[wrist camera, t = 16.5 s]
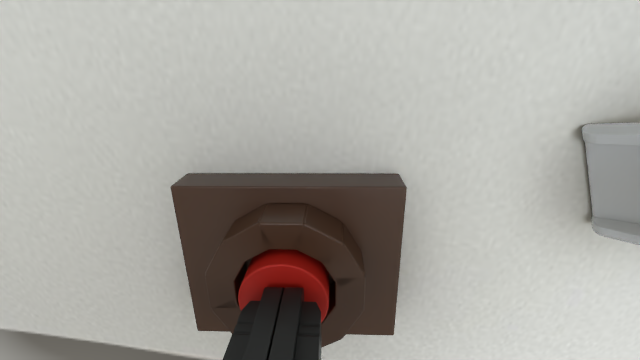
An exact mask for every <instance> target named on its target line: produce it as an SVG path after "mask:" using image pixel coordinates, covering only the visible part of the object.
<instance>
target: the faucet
mask: <svg viewBox="0 0 640 360" xmlns="http://www.w3.org/2000/svg"><path fill="white" fill-rule="evenodd" d="M582 135H583V140H584V141H585V146H586V156H587V165H588V175H589V184H590V194H591V203H592V213H593V217H592V228H593V230H594V231H595V232H596V233H597V234H599V235H601V236H604V237H608V238H612V239H616V240H620V241H625V242H629V243H633V244H637V245H640V122H636V123H606V124H586V125H584V126H583V127H582Z"/></svg>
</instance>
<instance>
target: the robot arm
mask: <svg viewBox="0 0 640 360" xmlns="http://www.w3.org/2000/svg"><path fill="white" fill-rule="evenodd" d="M223 360H321V311H320V309H319V307H318V305H317V303H316V302H304V288H303V287H285V288H284V287H265V288H264V291H263V294H262V297H261V300H260V301H250V302H249V303H248V304H247V305H246V306H245V307H244V308H243V309H242V310H241V313H240V315H239V318H238V321H237V324H236V326H235V329H234V331H233V334H232V337H231V339H230V342H229V344H228V347H227V350H226V352H225V355H224V358H223Z"/></svg>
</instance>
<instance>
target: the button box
mask: <svg viewBox="0 0 640 360" xmlns="http://www.w3.org/2000/svg"><path fill="white" fill-rule="evenodd" d="M171 191H172V197H173V202H174V207H175V213H176V218H177V223H178V228H179V234H180V239H181V244H182V249H183V255H184V260H185V265H186V271H187V276H188V281H189V286H190V292H191V297H192V302H193V308H194V313H195V318H196V323H197V329H198V331H230V332H231V333H232V334H233V331H234V329H235V326H236V324H237V321H238V318H239V315H240V313H241V310H240V307H239V302H238V293H239V289H240V286H241V283H242V281H243V279H244V276H245V274H246V272H247V269H248V267H249V264H250V262H251V260H252V258H253V257H255V256H257V255H259V254H261V253H263V252H265V251H267V250H269V249H282V250H298V251H300V252H302V253H304V254H306V255H308V256H310V257H312V258H314V259H316V260H318V261H320V262H322V264H323V265H324V267H325V268H326V269H327V271H328V272H329V308H328V312H327V314H326V317H325V318H324V320H323V322H322V323H321V347H324V346H326V345H328V344H331V343H333V342H336V341H338V340H341V339H342V338H343V337H344V336H345V334H361V335H393V334H394V325H395V313H396V302H397V291H398V279H399V268H400V257H401V245H402V234H403V222H404V211H405V200H406V186H405V184H404V182H403V181H402V179H401V177H400V176H399V174H187V175H185V176H184V177H183V178H181V179H180V180H179V181H177V182H176V183H175V184H173V185H172V186H171Z"/></svg>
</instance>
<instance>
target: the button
mask: <svg viewBox="0 0 640 360" xmlns="http://www.w3.org/2000/svg"><path fill="white" fill-rule="evenodd" d="M265 287H284V288H285V287H303V288H304V302H316V303H317V305H318V307H319V309H320V311H321V323H322V322H323V320H324V318H325V317H326V314H327V312H328V308H329V272H328V271H327V269H326V268H325V267H324V265H323V264H322V262H320V261H318V260H316V259H314V258H312V257H310V256H308V255H306V254H304V253H302V252H300V251H298V250H282V249H269V250H267V251H265V252H263V253H261V254H259V255H257V256H255V257H253V258H252V260H251V262H250V264H249V267H248V269H247V272H246V274H245V276H244V279H243V281H242V283H241V286H240V289H239V293H238V302H239V307H240V310H242V309H243V308H244V307H245V306H246V305H247V304H248V303H249V302H250V301H260V300H261V297H262V294H263V291H264V288H265Z"/></svg>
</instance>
